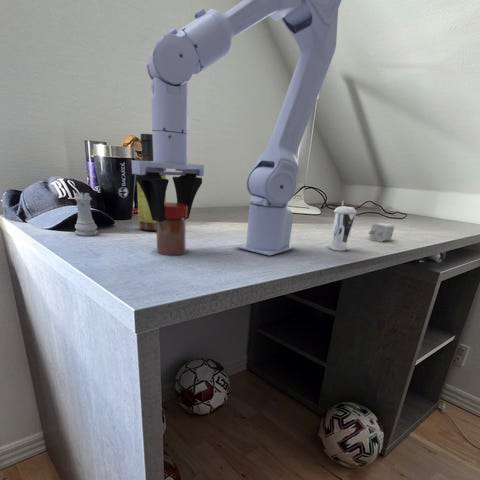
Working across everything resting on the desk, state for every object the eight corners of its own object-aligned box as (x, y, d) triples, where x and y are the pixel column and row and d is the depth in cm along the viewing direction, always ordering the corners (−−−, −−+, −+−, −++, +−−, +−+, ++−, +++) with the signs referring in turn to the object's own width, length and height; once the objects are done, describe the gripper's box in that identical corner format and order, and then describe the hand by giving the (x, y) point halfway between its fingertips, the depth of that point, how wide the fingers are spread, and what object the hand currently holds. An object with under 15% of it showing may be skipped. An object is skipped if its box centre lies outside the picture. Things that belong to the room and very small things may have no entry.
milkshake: (343, 246, 79) (353, 201, 75) (351, 252, 75) (361, 204, 70) (324, 245, 79) (332, 199, 75) (330, 250, 74) (339, 202, 70)
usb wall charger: (390, 240, 91) (394, 225, 89) (378, 242, 87) (382, 226, 85) (376, 237, 94) (380, 222, 92) (363, 239, 89) (367, 223, 88)
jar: (170, 246, 67) (169, 206, 64) (191, 251, 65) (192, 209, 62) (150, 251, 63) (149, 207, 60) (172, 256, 61) (172, 211, 58)
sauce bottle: (163, 232, 79) (161, 134, 70) (135, 230, 78) (130, 131, 70) (169, 227, 84) (167, 136, 76) (143, 225, 84) (139, 134, 76)
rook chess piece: (76, 231, 73) (71, 191, 70) (98, 231, 74) (95, 192, 71) (73, 236, 69) (68, 194, 66) (97, 236, 71) (93, 195, 67)
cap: (169, 219, 57) (169, 207, 57) (146, 214, 61) (146, 202, 60) (194, 217, 62) (194, 206, 61) (172, 212, 65) (172, 201, 64)
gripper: (184, 136, 63) (184, 213, 69) (116, 127, 52) (122, 218, 58) (213, 138, 60) (210, 218, 65) (147, 128, 49) (150, 225, 55)
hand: (171, 219), depth 62 cm, fingers closed on cap, 6 cm apart
